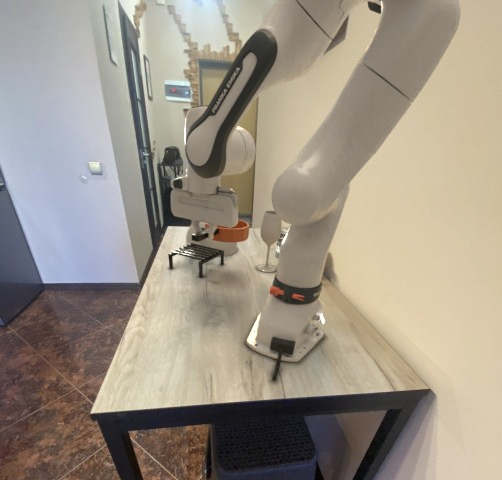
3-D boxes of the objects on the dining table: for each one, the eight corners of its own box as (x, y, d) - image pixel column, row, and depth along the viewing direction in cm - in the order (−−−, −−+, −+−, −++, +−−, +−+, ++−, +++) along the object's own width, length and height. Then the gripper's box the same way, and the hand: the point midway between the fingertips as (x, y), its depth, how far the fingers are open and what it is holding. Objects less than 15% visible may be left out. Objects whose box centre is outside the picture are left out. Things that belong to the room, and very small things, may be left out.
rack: (201, 277, 101) (200, 260, 97) (169, 268, 105) (168, 252, 102) (223, 264, 113) (224, 249, 110) (194, 256, 117) (193, 241, 114)
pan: (219, 227, 101) (220, 215, 99) (255, 235, 97) (256, 223, 95) (175, 244, 82) (174, 229, 80) (216, 255, 78) (216, 240, 76)
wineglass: (260, 272, 109) (266, 214, 97) (254, 265, 115) (259, 209, 103) (278, 272, 111) (286, 215, 99) (272, 265, 117) (279, 210, 105)
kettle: (229, 261, 116) (231, 201, 103) (176, 254, 118) (171, 194, 106) (241, 244, 136) (244, 192, 124) (196, 238, 139) (194, 186, 126)
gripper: (244, 188, 74) (241, 242, 82) (180, 178, 80) (182, 229, 88) (232, 191, 69) (230, 247, 77) (165, 180, 76) (169, 233, 83)
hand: (204, 237), depth 83 cm, fingers closed on pan, 2 cm apart
